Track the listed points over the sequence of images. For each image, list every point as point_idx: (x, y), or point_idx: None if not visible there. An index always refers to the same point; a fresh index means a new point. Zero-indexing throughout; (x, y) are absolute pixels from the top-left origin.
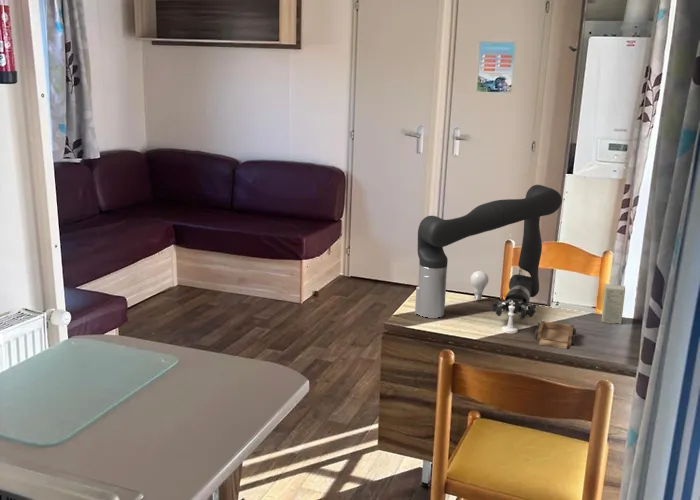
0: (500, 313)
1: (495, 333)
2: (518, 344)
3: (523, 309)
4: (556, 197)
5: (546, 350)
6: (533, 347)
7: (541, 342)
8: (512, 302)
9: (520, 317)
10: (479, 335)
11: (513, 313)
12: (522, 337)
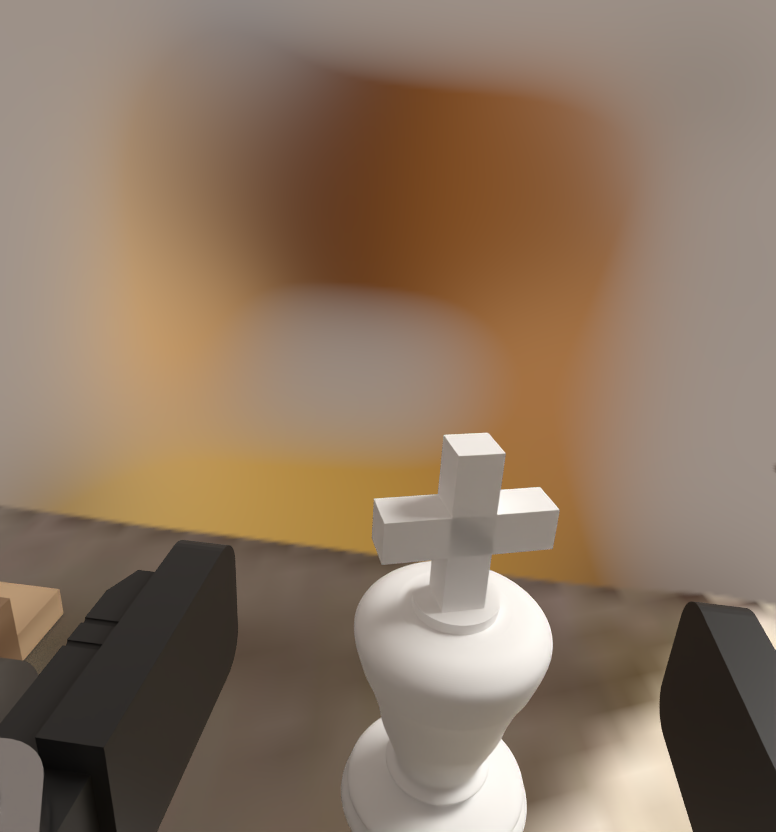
0: (694, 758)
1: (607, 815)
2: (296, 584)
3: (44, 782)
4: None
5: (51, 531)
6: (157, 557)
7: (36, 587)
8: (456, 478)
9: (232, 606)
10: None
11: (374, 758)
12: (207, 765)
